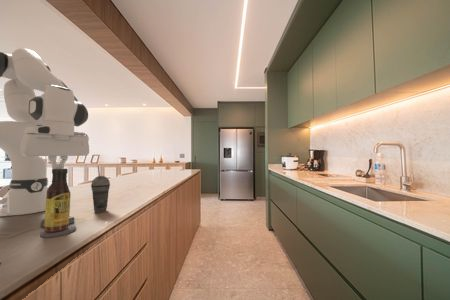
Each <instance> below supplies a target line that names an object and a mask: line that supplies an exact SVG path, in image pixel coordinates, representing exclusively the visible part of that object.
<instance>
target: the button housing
mask: <svg viewBox="0 0 450 300" xmlns="http://www.w3.org/2000/svg"><path fill="white" fill-rule="evenodd" d="M44 223H45V218H44V219H43V218H42V219H41V220H40V226H41V227H43V228H45V226H44ZM74 223H75V217H74V216H71V215H69V224H68V225H70V224H74Z"/></svg>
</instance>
